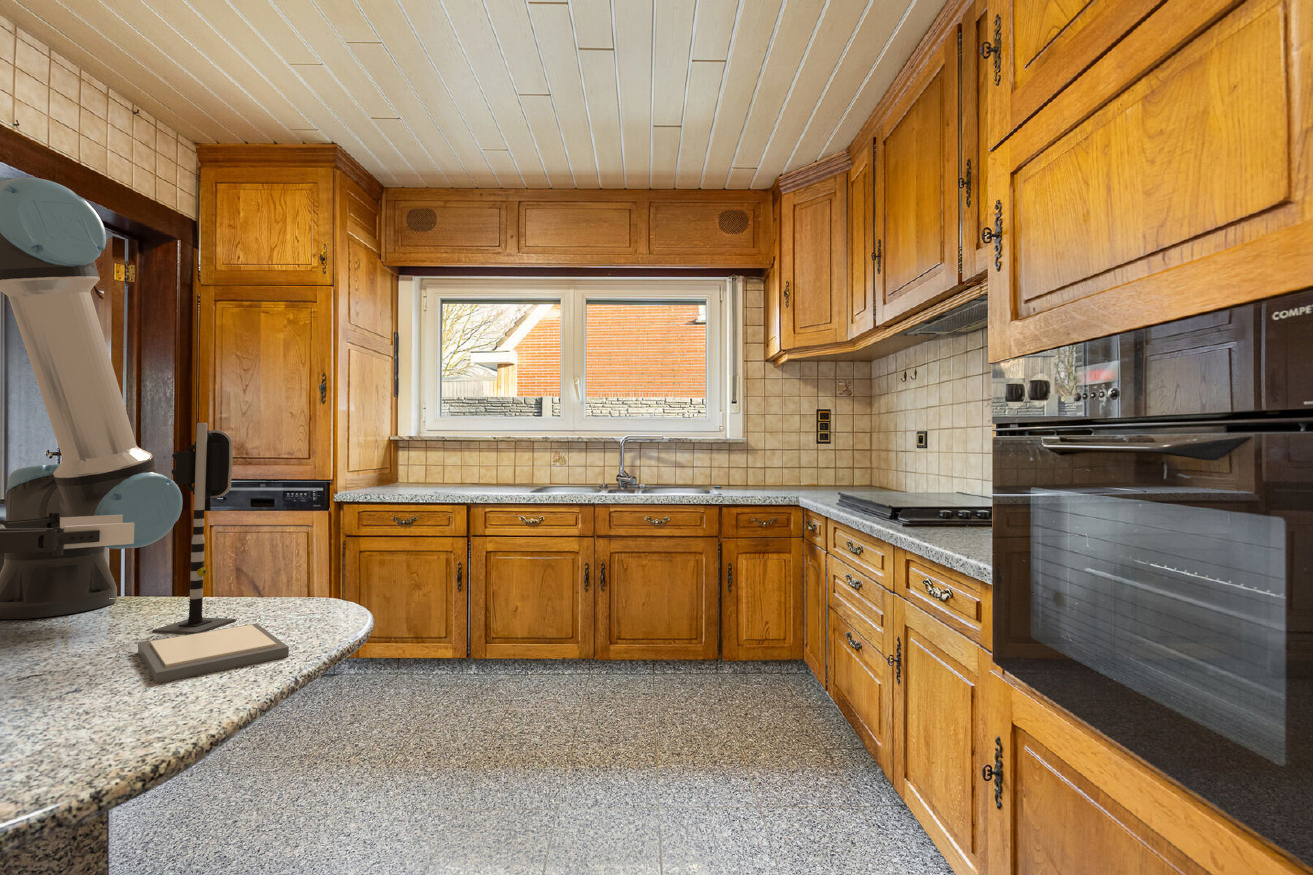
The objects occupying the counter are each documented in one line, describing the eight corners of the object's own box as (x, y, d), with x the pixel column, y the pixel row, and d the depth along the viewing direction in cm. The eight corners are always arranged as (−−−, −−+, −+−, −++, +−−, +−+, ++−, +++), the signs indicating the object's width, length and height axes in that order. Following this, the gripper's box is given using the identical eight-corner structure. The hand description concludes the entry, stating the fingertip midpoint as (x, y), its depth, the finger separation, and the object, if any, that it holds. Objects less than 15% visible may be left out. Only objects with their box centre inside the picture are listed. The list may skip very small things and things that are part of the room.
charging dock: (137, 652, 77) (138, 640, 77) (256, 631, 87) (256, 621, 87) (156, 683, 67) (156, 669, 67) (288, 656, 76) (288, 644, 77)
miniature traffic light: (239, 620, 93) (245, 424, 94) (197, 634, 85) (204, 421, 86) (194, 618, 93) (201, 424, 94) (148, 632, 86) (156, 421, 87)
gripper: (-106, 562, 77) (117, 545, 92) (-144, 595, 60) (138, 567, 75) (-103, 502, 77) (119, 496, 93) (-140, 518, 60) (140, 507, 75)
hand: (128, 528), depth 84 cm, fingers open, 13 cm apart
